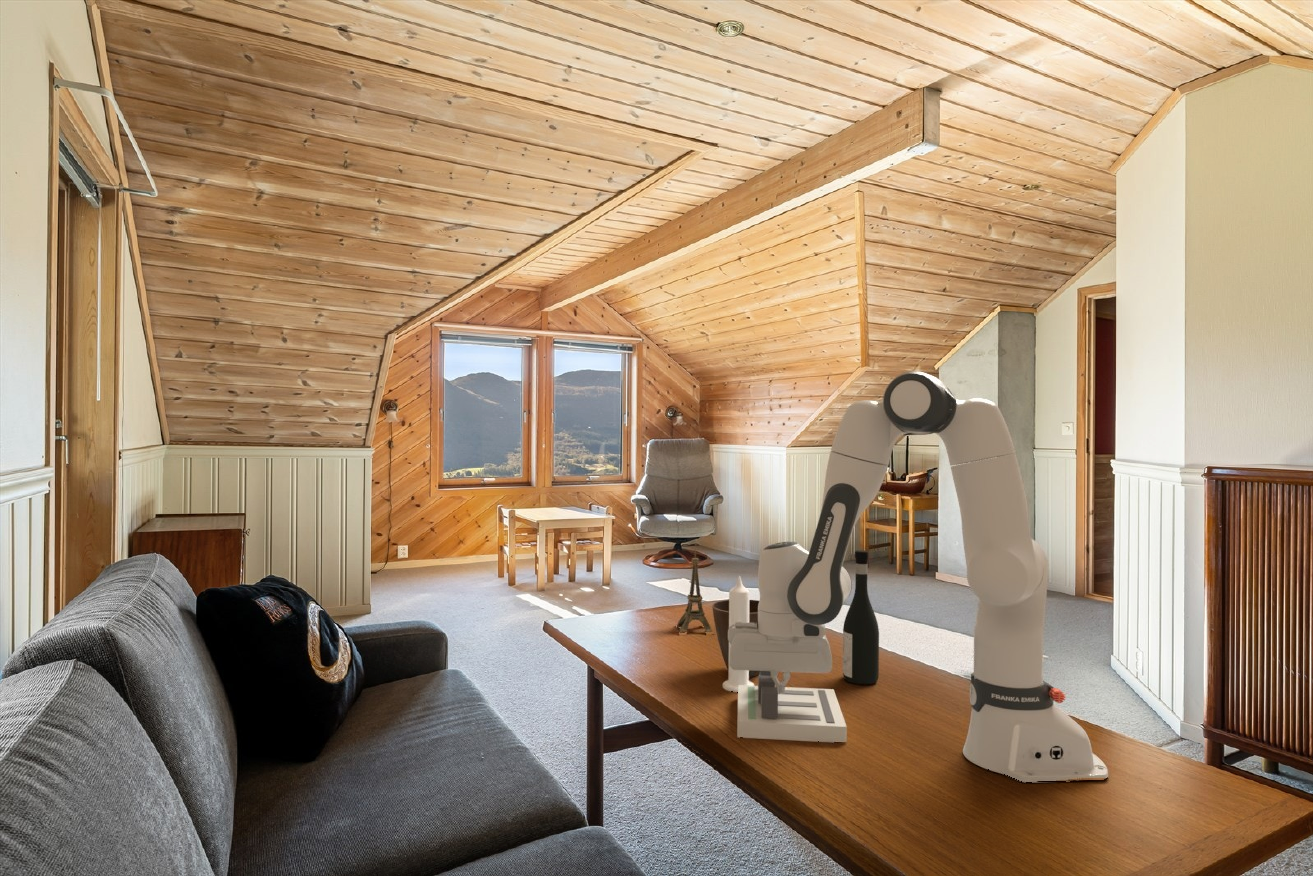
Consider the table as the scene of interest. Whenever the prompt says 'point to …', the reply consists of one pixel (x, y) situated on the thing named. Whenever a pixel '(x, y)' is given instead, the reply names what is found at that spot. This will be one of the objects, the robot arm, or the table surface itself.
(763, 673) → the handle
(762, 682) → the handle
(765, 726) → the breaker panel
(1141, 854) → the table surface
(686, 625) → the eiffel tower
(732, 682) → the candle
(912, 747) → the table surface
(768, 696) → the handle
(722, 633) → the plant pot
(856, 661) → the wine bottle
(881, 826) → the table surface
